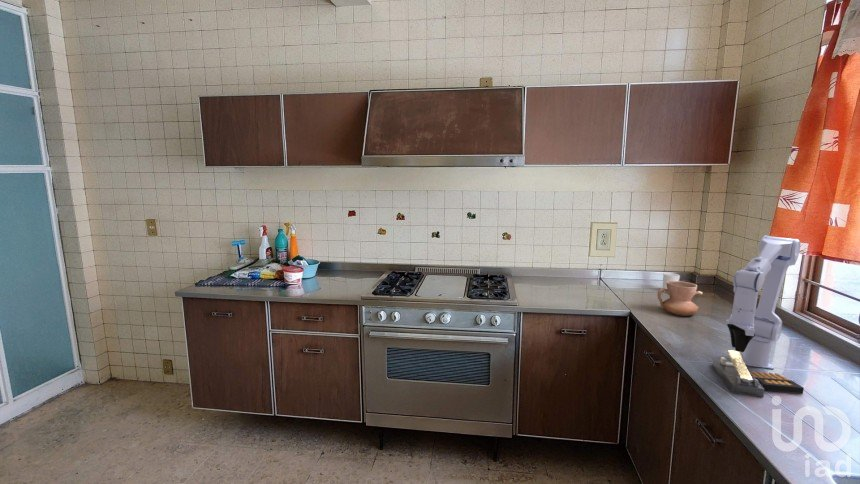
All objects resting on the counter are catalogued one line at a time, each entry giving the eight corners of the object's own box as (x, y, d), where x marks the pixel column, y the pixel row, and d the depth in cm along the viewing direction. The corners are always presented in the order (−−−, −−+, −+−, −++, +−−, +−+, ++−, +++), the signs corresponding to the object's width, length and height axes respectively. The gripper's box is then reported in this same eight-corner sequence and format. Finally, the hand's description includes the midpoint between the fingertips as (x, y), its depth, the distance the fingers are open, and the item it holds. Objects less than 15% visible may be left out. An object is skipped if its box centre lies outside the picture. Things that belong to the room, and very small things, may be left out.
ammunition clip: (803, 393, 126) (777, 376, 138) (804, 387, 126) (778, 370, 138) (763, 389, 128) (741, 373, 140) (763, 384, 128) (742, 367, 140)
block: (712, 364, 145) (713, 353, 144) (739, 368, 142) (741, 356, 141) (731, 392, 127) (733, 378, 126) (763, 397, 124) (765, 383, 124)
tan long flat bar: (727, 352, 139) (727, 349, 139) (737, 353, 138) (738, 350, 138) (741, 382, 127) (742, 379, 126) (753, 384, 126) (754, 381, 125)
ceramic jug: (696, 310, 201) (699, 281, 199) (703, 320, 188) (706, 289, 186) (654, 306, 208) (656, 278, 206) (657, 315, 195) (660, 285, 192)
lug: (720, 362, 141) (720, 356, 141) (739, 365, 139) (740, 359, 139) (721, 364, 139) (722, 359, 139) (742, 367, 137) (742, 361, 137)
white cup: (658, 290, 235) (660, 273, 233) (669, 289, 237) (671, 272, 236) (669, 294, 228) (672, 276, 226) (681, 293, 230) (683, 275, 228)
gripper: (721, 300, 140) (716, 339, 143) (737, 314, 127) (730, 356, 129) (746, 302, 138) (740, 342, 141) (765, 317, 125) (758, 360, 127)
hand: (737, 349), depth 135 cm, fingers open, 3 cm apart
